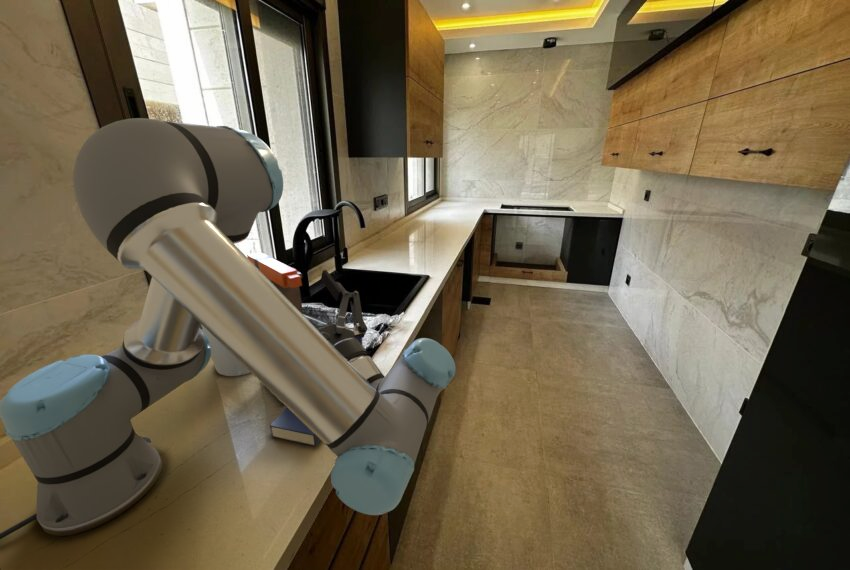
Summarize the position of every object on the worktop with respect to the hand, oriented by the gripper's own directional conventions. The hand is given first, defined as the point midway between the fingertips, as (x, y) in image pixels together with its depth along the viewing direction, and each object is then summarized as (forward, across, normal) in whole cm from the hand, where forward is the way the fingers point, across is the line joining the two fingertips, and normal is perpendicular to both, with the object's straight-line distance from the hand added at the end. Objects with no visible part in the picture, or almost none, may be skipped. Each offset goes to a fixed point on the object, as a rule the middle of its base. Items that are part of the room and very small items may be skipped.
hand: (291, 282), depth 63 cm
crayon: (+6, 0, -4) cm, 8 cm away
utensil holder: (+11, -4, -42) cm, 43 cm away
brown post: (-6, 0, -32) cm, 33 cm away
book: (-18, -1, -25) cm, 31 cm away
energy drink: (-12, +15, -29) cm, 35 cm away
